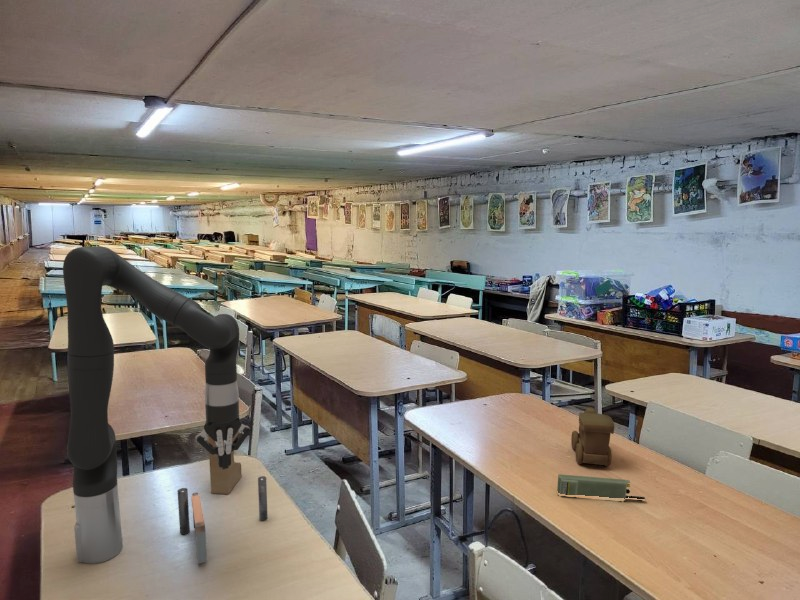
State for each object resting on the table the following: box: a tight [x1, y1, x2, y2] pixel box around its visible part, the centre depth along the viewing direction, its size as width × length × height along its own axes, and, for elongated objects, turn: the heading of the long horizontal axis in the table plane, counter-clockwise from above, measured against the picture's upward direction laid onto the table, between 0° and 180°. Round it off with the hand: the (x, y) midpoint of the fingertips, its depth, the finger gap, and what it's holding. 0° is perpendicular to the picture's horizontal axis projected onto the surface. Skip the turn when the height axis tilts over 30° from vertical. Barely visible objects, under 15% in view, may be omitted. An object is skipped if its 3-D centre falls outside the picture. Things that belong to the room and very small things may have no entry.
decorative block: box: [207, 428, 243, 495], centre depth 160 cm, size 11×6×20 cm, turn 175°
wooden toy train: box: [570, 407, 615, 467], centre depth 181 cm, size 20×11×17 cm, turn 170°
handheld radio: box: [556, 473, 646, 500], centre depth 156 cm, size 7×3×25 cm
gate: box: [190, 492, 208, 564], centre depth 131 cm, size 16×2×9 cm, turn 25°
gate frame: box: [177, 475, 268, 536], centre depth 140 cm, size 22×3×12 cm, turn 110°
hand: (224, 467), depth 126 cm, fingers closed
